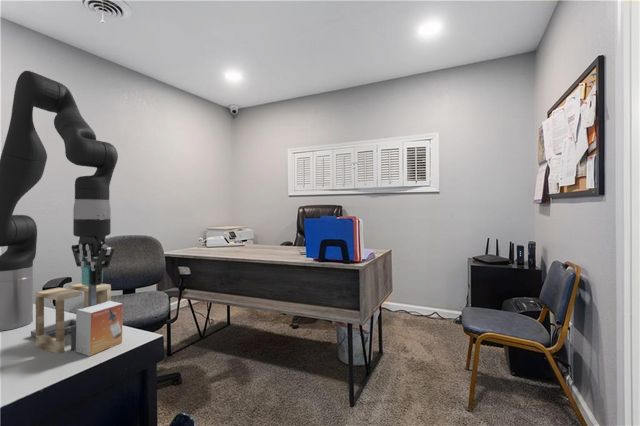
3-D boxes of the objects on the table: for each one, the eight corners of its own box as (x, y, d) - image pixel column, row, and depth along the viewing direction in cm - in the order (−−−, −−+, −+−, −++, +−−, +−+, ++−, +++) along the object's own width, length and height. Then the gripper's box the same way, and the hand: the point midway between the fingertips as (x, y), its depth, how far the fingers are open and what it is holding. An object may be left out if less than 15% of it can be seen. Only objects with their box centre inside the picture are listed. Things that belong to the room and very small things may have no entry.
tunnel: (35, 346, 73) (35, 292, 73) (88, 328, 85) (88, 281, 84) (59, 354, 70) (59, 296, 70) (110, 334, 81) (110, 284, 81)
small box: (89, 357, 68) (89, 313, 68) (74, 352, 71) (75, 309, 70) (123, 342, 76) (123, 303, 76) (109, 338, 78) (109, 300, 78)
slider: (69, 350, 71) (68, 268, 71) (107, 335, 79) (107, 262, 79) (75, 351, 70) (75, 269, 70) (113, 336, 78) (113, 263, 78)
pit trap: (30, 336, 79) (30, 331, 79) (73, 323, 88) (73, 318, 88) (45, 341, 76) (45, 335, 76) (87, 327, 86) (87, 321, 86)
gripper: (58, 217, 73) (58, 284, 73) (94, 218, 68) (93, 291, 68) (91, 216, 80) (91, 278, 80) (125, 217, 75) (125, 283, 75)
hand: (92, 283), depth 74 cm, fingers closed on slider, 2 cm apart
